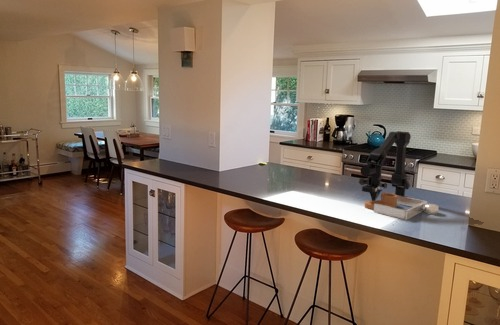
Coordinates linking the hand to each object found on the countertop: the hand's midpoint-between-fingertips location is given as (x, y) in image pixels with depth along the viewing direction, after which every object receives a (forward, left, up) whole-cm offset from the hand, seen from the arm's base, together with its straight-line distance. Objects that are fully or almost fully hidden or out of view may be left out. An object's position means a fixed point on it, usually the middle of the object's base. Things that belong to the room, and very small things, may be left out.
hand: (373, 202), depth 210 cm
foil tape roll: (-9, +28, -2) cm, 29 cm away
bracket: (+2, +5, -2) cm, 6 cm away
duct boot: (0, +15, -1) cm, 15 cm away
